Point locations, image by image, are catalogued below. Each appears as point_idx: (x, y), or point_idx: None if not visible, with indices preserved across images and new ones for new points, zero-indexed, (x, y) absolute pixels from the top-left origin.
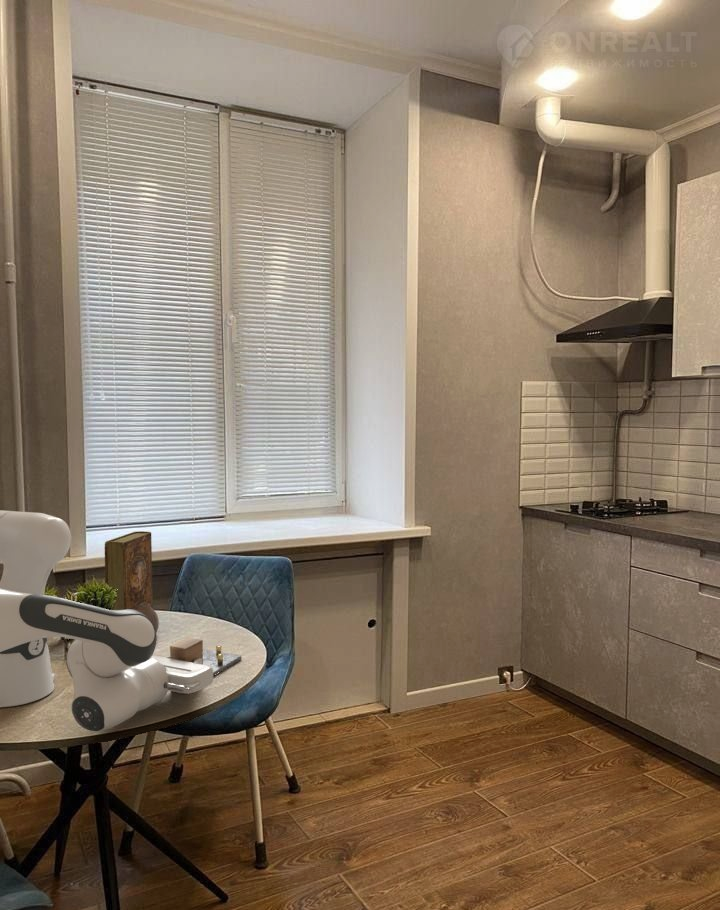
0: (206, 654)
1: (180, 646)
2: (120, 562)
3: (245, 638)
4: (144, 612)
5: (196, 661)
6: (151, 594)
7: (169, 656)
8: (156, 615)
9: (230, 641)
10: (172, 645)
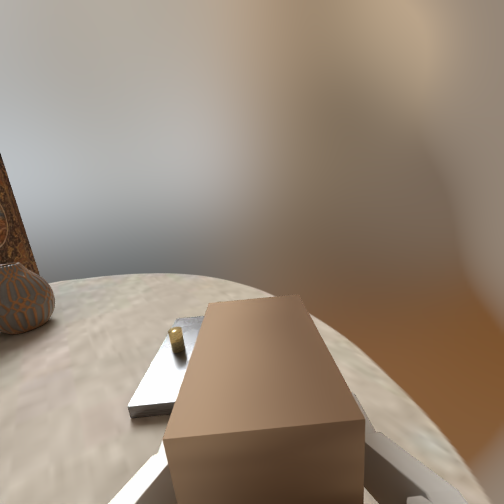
0: (195, 329)
1: (270, 399)
2: None
3: (219, 282)
4: (8, 280)
5: (399, 451)
6: (31, 257)
7: (150, 473)
8: (43, 281)
9: (202, 292)
10: (181, 415)
